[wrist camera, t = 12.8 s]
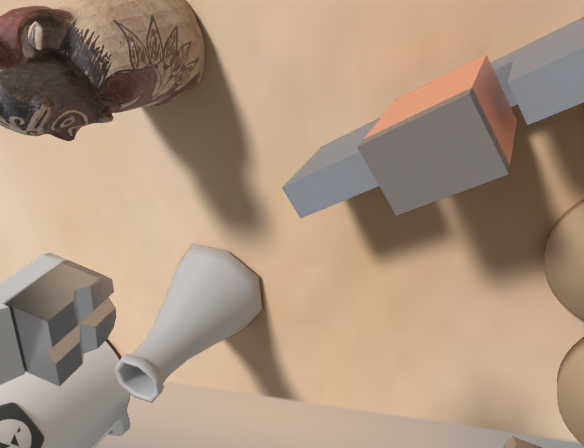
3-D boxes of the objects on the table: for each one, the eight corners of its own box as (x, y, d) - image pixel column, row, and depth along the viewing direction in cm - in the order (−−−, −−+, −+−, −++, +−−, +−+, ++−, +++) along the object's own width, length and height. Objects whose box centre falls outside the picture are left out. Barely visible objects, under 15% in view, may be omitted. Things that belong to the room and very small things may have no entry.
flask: (174, 297, 41) (85, 389, 33) (184, 226, 37) (86, 312, 29) (254, 339, 40) (181, 445, 32) (274, 270, 36) (196, 373, 28)
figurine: (114, 91, 34) (-56, 161, 24) (95, -31, 30) (-116, -5, 21) (211, 106, 31) (64, 190, 22) (202, -24, 28) (21, 10, 18)
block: (424, 159, 26) (395, 215, 21) (393, 101, 25) (357, 146, 20) (517, 120, 23) (508, 174, 18) (486, 54, 22) (469, 93, 17)
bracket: (336, 174, 30) (300, 218, 26) (320, 147, 30) (281, 187, 25) (657, 29, 21) (685, 60, 17) (642, -12, 21) (667, 8, 16)
